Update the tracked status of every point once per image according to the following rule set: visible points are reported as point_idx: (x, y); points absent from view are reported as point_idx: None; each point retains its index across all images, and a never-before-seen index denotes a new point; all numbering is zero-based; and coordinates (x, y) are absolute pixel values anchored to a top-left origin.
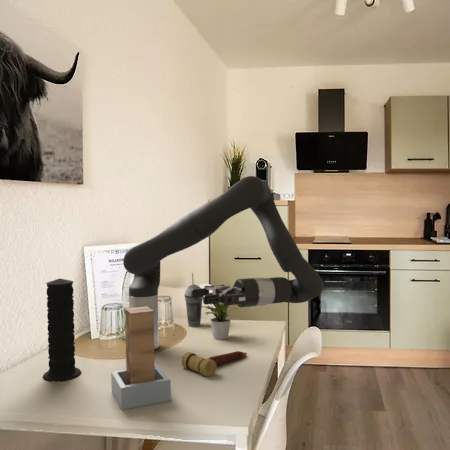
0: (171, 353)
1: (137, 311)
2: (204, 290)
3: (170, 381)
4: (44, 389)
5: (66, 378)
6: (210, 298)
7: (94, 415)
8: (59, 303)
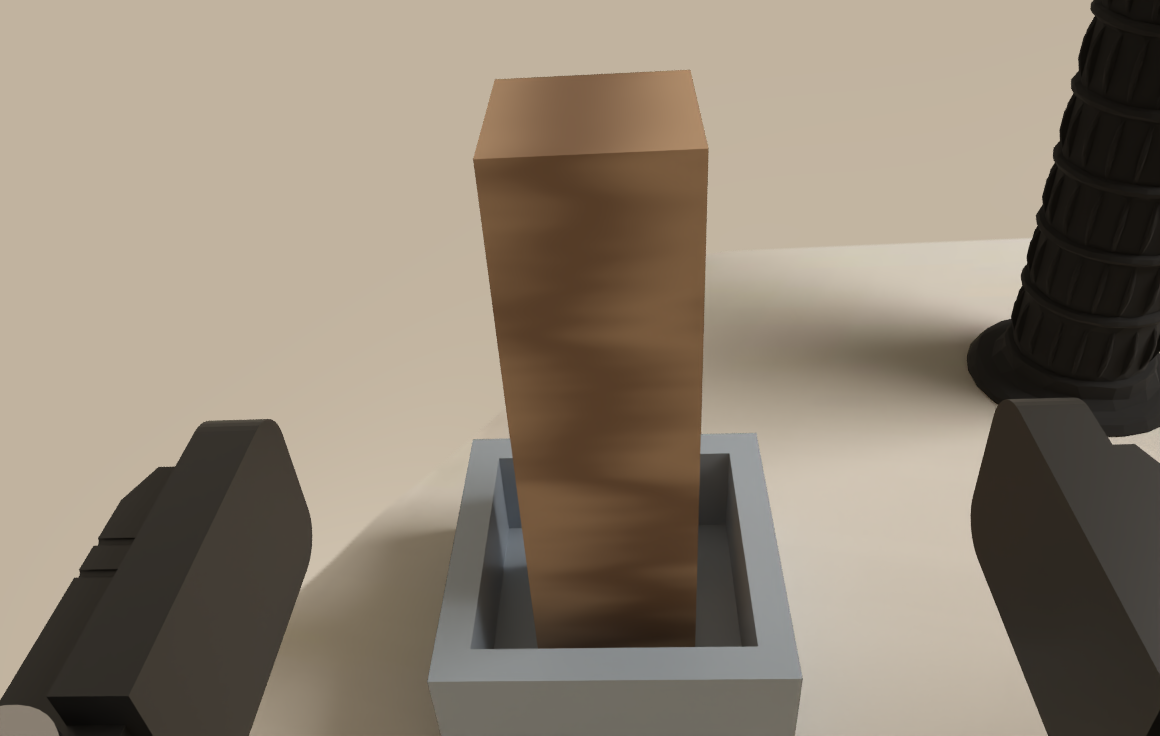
0: None
1: (528, 101)
2: (1134, 694)
3: (430, 689)
4: (876, 324)
5: (983, 376)
6: (119, 539)
7: (499, 438)
8: None
